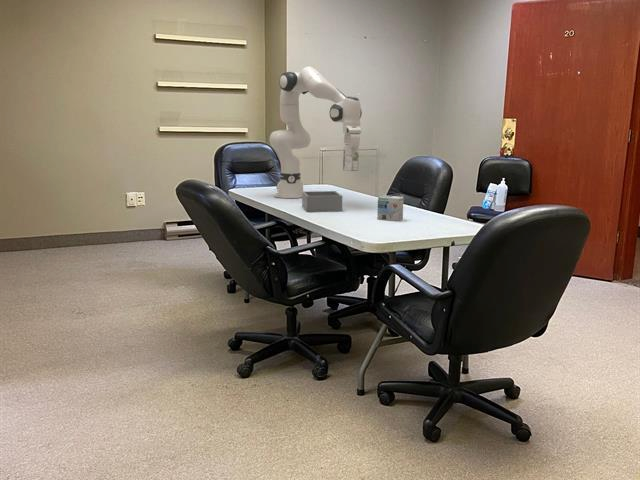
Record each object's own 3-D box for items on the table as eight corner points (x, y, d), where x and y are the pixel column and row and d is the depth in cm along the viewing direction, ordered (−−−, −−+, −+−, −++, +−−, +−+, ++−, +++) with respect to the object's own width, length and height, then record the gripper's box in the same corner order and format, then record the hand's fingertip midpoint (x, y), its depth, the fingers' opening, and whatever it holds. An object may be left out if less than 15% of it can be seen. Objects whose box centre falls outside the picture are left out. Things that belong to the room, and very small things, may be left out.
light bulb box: (376, 219, 278) (377, 196, 276) (382, 217, 284) (382, 195, 282) (398, 221, 273) (399, 198, 271) (403, 219, 279) (404, 196, 277)
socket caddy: (302, 206, 314) (302, 191, 313) (335, 205, 317) (335, 191, 316) (306, 212, 297) (307, 196, 295) (342, 211, 300) (342, 195, 298)
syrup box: (349, 169, 312) (350, 141, 308) (358, 170, 308) (359, 142, 305) (342, 170, 307) (343, 142, 304) (352, 171, 304) (352, 142, 300)
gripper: (341, 128, 312) (340, 154, 315) (349, 129, 293) (349, 157, 296) (353, 128, 313) (352, 154, 316) (362, 129, 294) (361, 157, 297)
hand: (350, 156), depth 306 cm, fingers closed on syrup box, 8 cm apart
